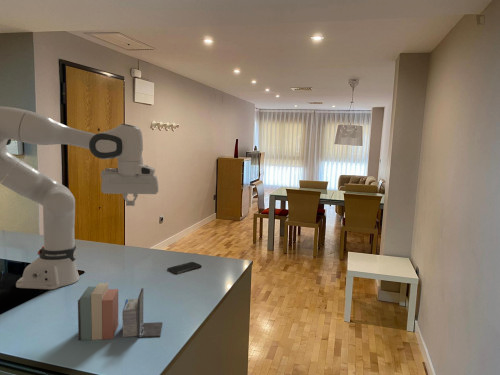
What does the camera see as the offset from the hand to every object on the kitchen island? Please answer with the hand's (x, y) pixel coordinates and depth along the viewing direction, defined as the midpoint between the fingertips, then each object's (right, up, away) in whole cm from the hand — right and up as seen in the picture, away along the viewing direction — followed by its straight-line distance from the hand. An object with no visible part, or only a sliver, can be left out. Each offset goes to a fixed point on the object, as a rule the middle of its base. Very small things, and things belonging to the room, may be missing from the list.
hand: (130, 205), depth 134 cm
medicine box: (+8, -38, -23) cm, 45 cm away
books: (-1, -37, -25) cm, 45 cm away
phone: (+14, -32, +33) cm, 48 cm away
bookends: (+6, -37, -24) cm, 45 cm away
